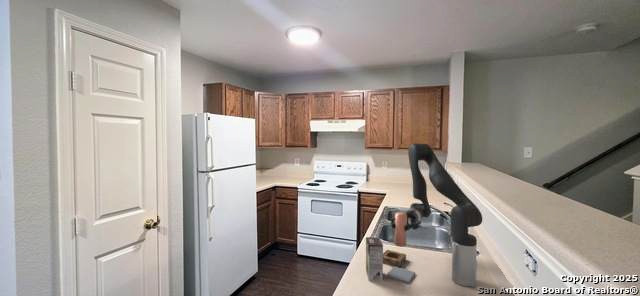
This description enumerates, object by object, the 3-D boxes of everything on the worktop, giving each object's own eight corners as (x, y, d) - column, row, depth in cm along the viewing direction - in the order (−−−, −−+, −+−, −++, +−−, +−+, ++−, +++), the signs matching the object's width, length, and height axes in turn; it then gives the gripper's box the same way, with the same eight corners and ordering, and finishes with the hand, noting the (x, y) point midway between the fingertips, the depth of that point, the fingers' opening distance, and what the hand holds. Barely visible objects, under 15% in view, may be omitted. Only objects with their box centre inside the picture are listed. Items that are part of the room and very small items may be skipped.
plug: (407, 243, 124) (408, 213, 123) (404, 247, 120) (404, 216, 119) (397, 241, 127) (397, 211, 126) (393, 244, 123) (393, 214, 122)
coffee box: (365, 270, 129) (365, 236, 128) (379, 270, 129) (379, 237, 128) (368, 280, 120) (368, 244, 119) (383, 281, 120) (383, 244, 119)
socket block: (406, 260, 140) (406, 254, 140) (399, 267, 132) (399, 261, 132) (387, 255, 146) (387, 249, 146) (379, 262, 138) (379, 256, 138)
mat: (415, 274, 126) (415, 272, 126) (408, 283, 118) (408, 281, 118) (393, 268, 132) (393, 266, 131) (386, 277, 123) (386, 274, 123)
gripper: (396, 207, 139) (383, 216, 125) (426, 212, 131) (416, 222, 117) (396, 222, 140) (383, 232, 126) (425, 228, 131) (415, 239, 117)
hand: (399, 227), depth 121 cm, fingers closed on plug, 5 cm apart
